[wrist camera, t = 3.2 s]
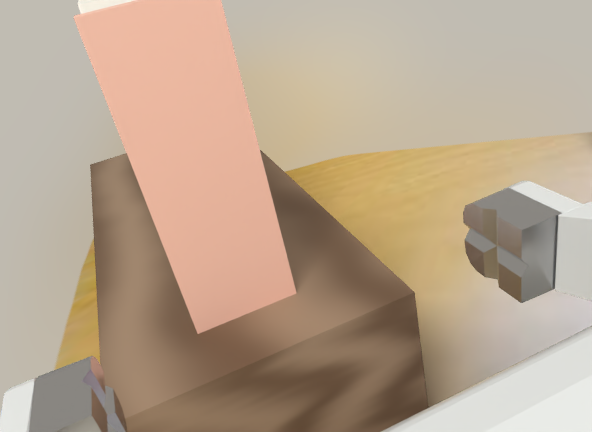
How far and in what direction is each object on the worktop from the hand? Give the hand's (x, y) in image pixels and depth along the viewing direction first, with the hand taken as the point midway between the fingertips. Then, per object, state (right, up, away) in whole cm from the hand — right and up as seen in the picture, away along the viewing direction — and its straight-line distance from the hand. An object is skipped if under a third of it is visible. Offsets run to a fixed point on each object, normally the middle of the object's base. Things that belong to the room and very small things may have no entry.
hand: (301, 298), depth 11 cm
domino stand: (-5, -6, +30) cm, 31 cm away
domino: (-3, -3, +14) cm, 15 cm away
